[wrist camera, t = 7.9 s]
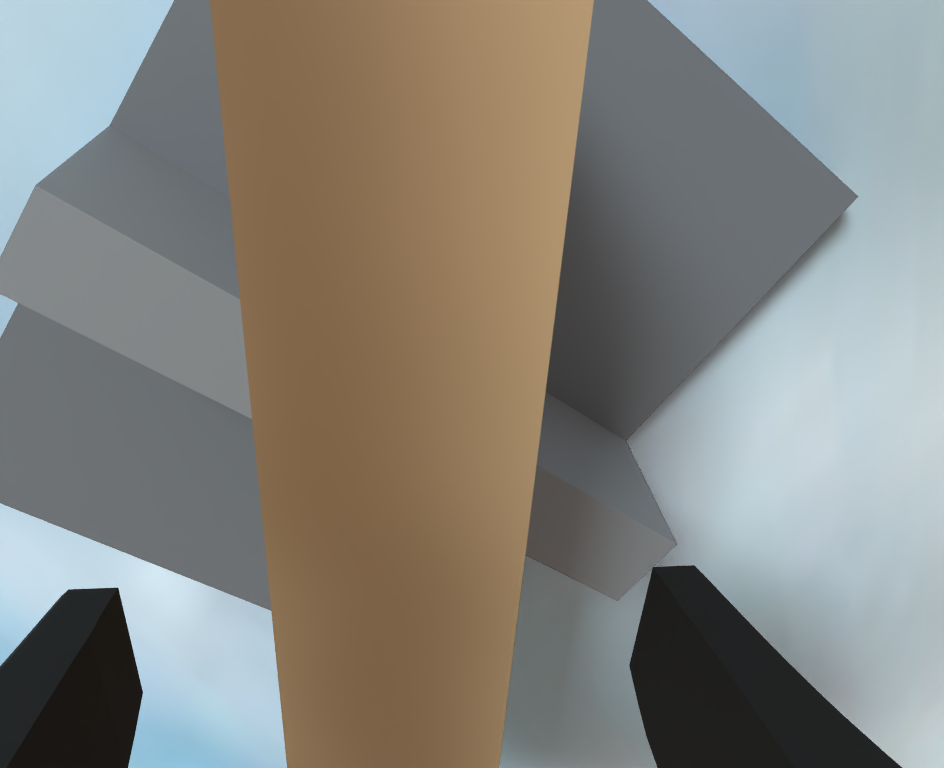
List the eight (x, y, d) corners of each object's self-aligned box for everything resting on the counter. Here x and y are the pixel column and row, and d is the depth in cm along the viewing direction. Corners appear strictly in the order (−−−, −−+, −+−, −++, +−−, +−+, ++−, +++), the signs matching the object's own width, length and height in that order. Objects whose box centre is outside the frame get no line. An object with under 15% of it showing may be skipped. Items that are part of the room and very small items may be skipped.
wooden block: (492, -116, 10) (612, -148, 5) (441, 732, 20) (467, 1019, 14) (279, -131, 10) (192, -183, 5) (328, 740, 19) (314, 1037, 14)
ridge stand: (836, 184, 19) (974, 262, 14) (409, 640, 25) (418, 789, 21) (329, -283, 13) (311, -379, 9) (-52, 450, 20) (-168, 599, 15)
